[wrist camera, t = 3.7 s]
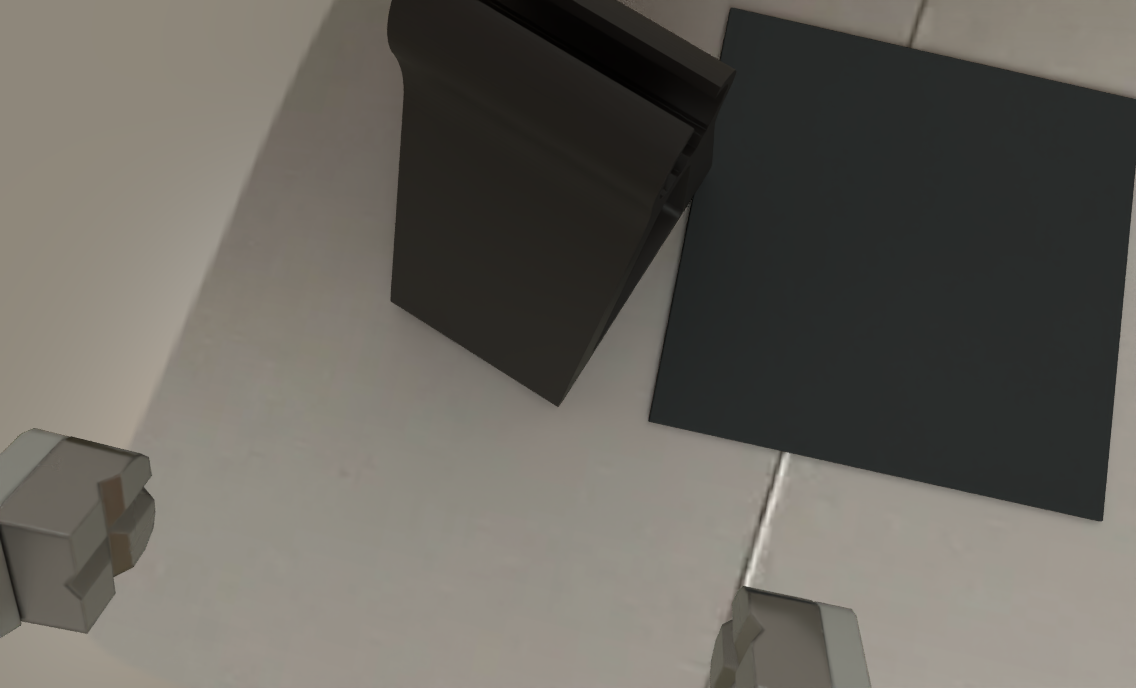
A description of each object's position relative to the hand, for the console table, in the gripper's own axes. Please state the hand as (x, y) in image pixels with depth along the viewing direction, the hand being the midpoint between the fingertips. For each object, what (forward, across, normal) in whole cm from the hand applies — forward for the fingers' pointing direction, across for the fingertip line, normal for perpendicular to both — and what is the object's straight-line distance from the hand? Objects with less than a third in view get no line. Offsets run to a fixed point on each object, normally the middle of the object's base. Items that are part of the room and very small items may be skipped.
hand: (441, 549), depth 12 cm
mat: (+18, -11, +2) cm, 21 cm away
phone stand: (+16, 0, +3) cm, 17 cm away
